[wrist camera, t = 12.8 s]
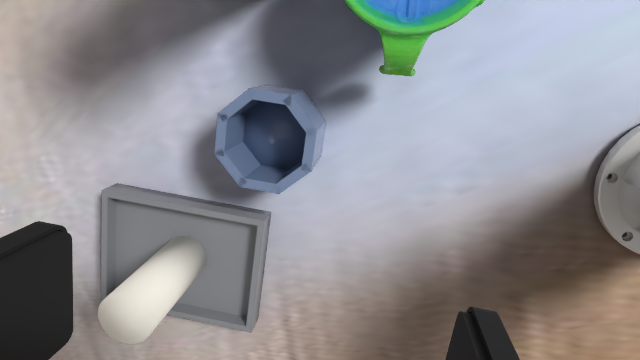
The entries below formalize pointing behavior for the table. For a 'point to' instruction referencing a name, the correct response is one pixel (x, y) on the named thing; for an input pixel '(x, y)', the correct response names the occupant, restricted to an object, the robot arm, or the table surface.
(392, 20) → the snack cup
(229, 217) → the tray
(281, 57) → the table surface
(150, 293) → the peg
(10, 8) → the table surface
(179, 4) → the table surface
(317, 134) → the cup
